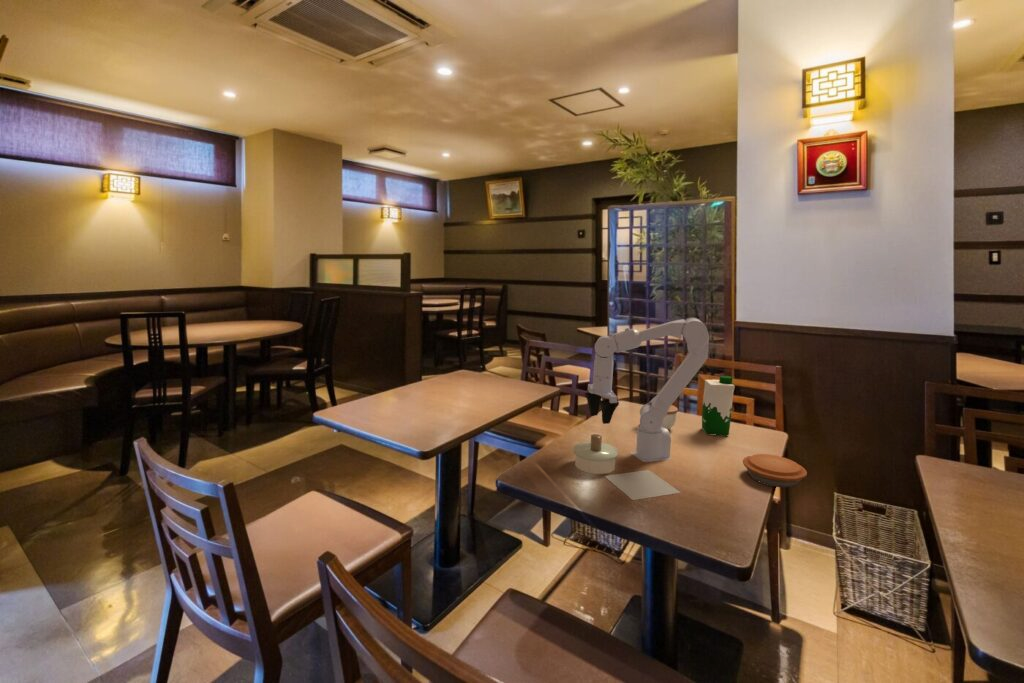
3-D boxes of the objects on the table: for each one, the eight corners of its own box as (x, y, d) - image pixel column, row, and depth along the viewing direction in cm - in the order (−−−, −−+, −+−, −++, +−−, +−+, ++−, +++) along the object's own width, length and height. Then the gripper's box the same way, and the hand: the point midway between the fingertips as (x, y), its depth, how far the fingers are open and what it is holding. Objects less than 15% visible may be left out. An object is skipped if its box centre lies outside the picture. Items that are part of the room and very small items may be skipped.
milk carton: (732, 437, 163) (737, 380, 160) (704, 435, 165) (709, 378, 161) (724, 428, 172) (729, 374, 169) (698, 427, 173) (702, 373, 170)
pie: (819, 491, 125) (821, 473, 124) (762, 492, 124) (764, 474, 123) (781, 466, 140) (783, 450, 139) (730, 467, 139) (732, 450, 138)
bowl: (602, 457, 144) (603, 443, 143) (622, 472, 133) (623, 457, 133) (569, 461, 140) (569, 447, 140) (586, 477, 130) (587, 462, 129)
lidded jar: (678, 434, 165) (680, 408, 164) (645, 431, 167) (647, 405, 166) (674, 424, 176) (675, 399, 174) (643, 422, 178) (645, 397, 176)
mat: (648, 472, 134) (648, 469, 134) (680, 494, 121) (681, 492, 121) (604, 478, 130) (604, 476, 130) (632, 502, 117) (632, 500, 117)
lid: (606, 442, 144) (607, 427, 143) (625, 459, 132) (626, 442, 131) (567, 445, 141) (568, 430, 140) (583, 462, 129) (584, 445, 128)
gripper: (580, 371, 150) (577, 412, 152) (603, 382, 137) (599, 428, 139) (600, 370, 152) (597, 411, 155) (624, 381, 139) (621, 426, 141)
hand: (599, 419), depth 147 cm, fingers open, 7 cm apart
